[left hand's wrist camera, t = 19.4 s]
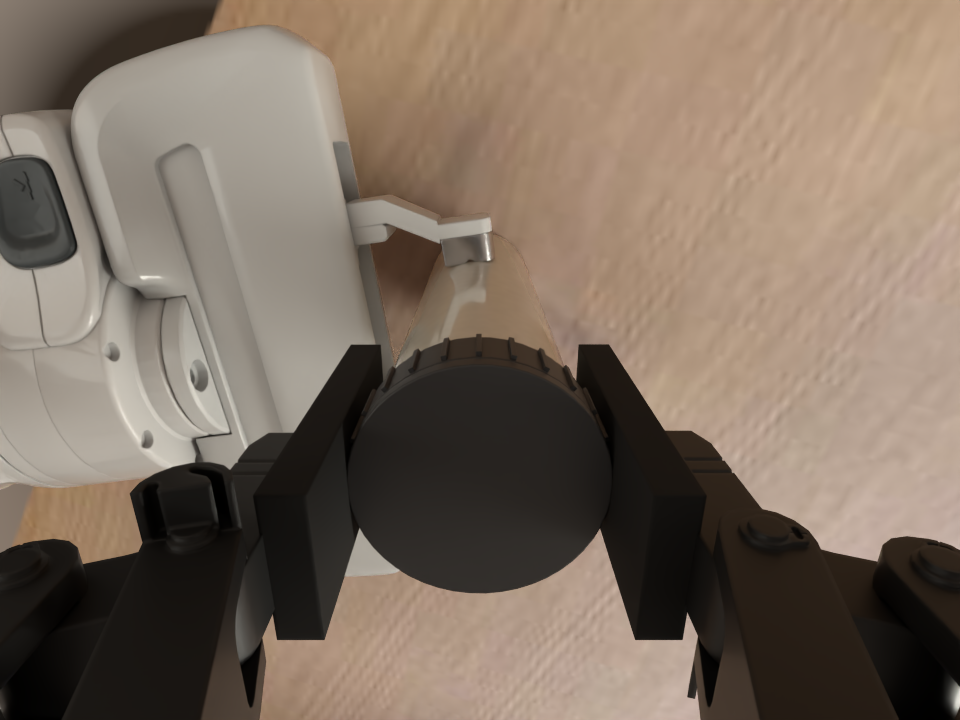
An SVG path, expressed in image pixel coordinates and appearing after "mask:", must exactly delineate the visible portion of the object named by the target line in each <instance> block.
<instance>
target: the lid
mask: <svg viewBox="0 0 960 720" xmlns="http://www.w3.org/2000/svg"><path fill="white" fill-rule="evenodd" d="M606 442H609V437H608V435H607V433H606V430H605V428H604V426H603V424H602V421H601V419H600V417H599V415H598V413H597V410H596V408H595V406H594V404H593V401H592V399H591V397H590V395H589V392H588V390H587V389H586V387H585V388H583V389H582V388H581V387H580V386H579V384H578V383H577V381H576V380H575V379H574V378H573V376H572V374H571V371H570V369H569V367H568V366H567V365H565V366H564V367H562V366H561V365H560V364H558V363H557V362H556V361H554V360H553V359H552V358H550V357H549V356H547V355H546V354H545V351H544V349H542V348H539V350H536V349H534V348H531V347H529V346H526V345H524V344H521V343H517V342H515V340H514V338H512V337H509V339H508V340H506V339H499V338H492V337H482V334H476V337H469V338H460V339H454V340H449V337H448V338H444V340H443V342H441V343H439V344H436V345H433V346H431V347H428V348H426V349H424V350H422V351H420V350H419V349H416V350H414V352H413V355H412V356H411V357H409V358H408V359H407V360H405V361H404V362H402V363H401V364H400V365H398V366H397V367H396V368H394V367H393V366H392V367H391V368H390V369H389V371H388V373H387V376H386V378H385V380H384V381H383V382H382V384H381V385H380V386H379V387H378V389H377V390H375V389H373V390H372V391H371V393H370V395H369V398H368V400H367V402H366V404H365V407H364V409H363V411H362V413H361V416H360V419H359V421H358V423H357V425H356V428H355V430H354V432H353V434H352V437H351V439H350V443H352V447H351V450H350V454H349V458H348V463H347V484H348V494H349V502H350V507H351V510H352V512H353V515H354V517H355V520H356V523H357V524H358V526H359V528H360V530H361V531H362V533H363V535H364V536H365V538H366V539H367V540H368V542H369V543H370V544H371V546H372V547H373V548H374V549H375V550H376V551H377V552H378V553H379V554H380V555H381V556H382V557H383V558H384V559H385V560H387V561H388V562H389V563H390V564H392V565H393V566H394V567H395V568H397V569H399V570H400V571H402V572H403V573H405V574H407V575H408V576H410V577H412V578H415V579H417V580H419V581H421V582H423V583H426V584H429V585H432V586H435V587H438V588H442V589H446V590H451V591H457V592H465V593H494V592H503V591H508V590H513V589H518V588H521V587H524V586H528V585H531V584H534V583H536V582H538V581H541V580H543V579H545V578H547V577H549V576H551V575H553V574H554V573H556V572H558V571H560V570H561V569H563V568H564V567H565V566H567V565H568V564H569V563H571V562H572V561H573V560H574V559H575V558H576V557H577V556H578V555H580V554H581V553H582V552H583V551H584V550H585V548H586V547H587V546H588V545H589V544H590V542H591V541H592V540H593V539H594V537H595V535H596V534H597V532H598V530H599V529H600V527H601V525H602V523H603V521H604V519H605V516H606V514H607V512H608V508H609V504H610V500H611V490H612V479H613V466H612V461H611V456H610V451H609V448H608V446H607V443H606Z"/></svg>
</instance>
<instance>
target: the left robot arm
mask: <svg viewBox="0 0 960 720" xmlns="http://www.w3.org/2000/svg"><path fill="white" fill-rule="evenodd" d="M576 381H577V383H578V384H579V386H580V387H581V388H582V389H583V388H585V387H586V389H587V390H588V392H589V395H590V397H591V399H592V401H593V404H594V406H595V408H596V410H597V413H598V415H599V417H600V419H601V421H602V424H603V426H604V428H605V430H606V433H607V435H608V437H609V442H606V443H607V446H608V448H609V451H610V456H611V461H612V466H613V479H612V490H611V500H610V504H609V508H608V512H607V514H606V516H605V519H604V521H603V523H602V525H601V527H600V529H601V533H602V536H603V539H604V542H605V545H606V548H607V552H608V555H609V558H610V561H611V564H612V568H613V571H614V574H615V577H616V580H617V583H618V587H619V590H620V593H621V596H622V599H623V603H624V606H625V609H626V612H627V615H628V618H629V622H630V625H631V628H632V631H633V634H634V638H635V640H683V634H684V628H685V622H686V616H687V612H688V614H689V617H690V619H691V621H692V623H693V626H694V628H695V630H696V632H697V635H698V639H697V645H696V650H695V656H694V661H693V667H692V672H691V678H690V683H689V690H688V697H689V698H694V699H695V696H696V691H697V692H698V700H699V709H700V718H701V720H960V550H958V549H956V548H955V547H953V546H951V545H948V544H945V543H942V542H938V541H935V540H931V539H925V538H916V537H908V536H906V537H898V538H891V539H890V540H889V541H887V542H886V543H885V544H883V546H882V549H881V552H880V556H879V559H878V562H876V561H871V560H866V559H861V558H856V557H852V556H847V555H842V554H837V553H832V552H829V551H825V550H821V549H820V547H819V544H818V542H817V541H816V540H815V538H814V537H813V536H812V534H811V533H810V532H809V531H808V530H807V529H806V528H804V527H803V526H801V525H800V524H799V523H797V522H796V521H794V520H792V519H790V518H788V517H785V516H783V515H781V514H779V513H776V512H772V511H768V510H764V509H762V508H761V507H760V506H759V505H758V503H757V502H756V501H755V499H754V498H753V497H752V496H751V494H750V493H749V492H748V490H747V489H746V488H745V487H744V485H743V484H742V483H741V481H740V480H739V479H738V478H737V476H736V475H735V474H734V473H732V470H731V469H730V467H729V466H728V465H727V463H726V462H725V461H722V457H721V456H720V454H719V453H718V452H717V451H716V449H715V448H714V447H713V445H712V444H711V443H710V442H708V441H706V440H705V439H703V438H702V437H700V436H698V435H697V434H695V433H694V432H692V431H665V430H664V429H663V427H662V426H661V424H660V423H659V421H658V420H657V418H656V417H655V415H654V413H653V412H652V410H651V409H650V407H649V406H648V404H647V403H646V401H645V400H644V398H643V396H642V395H641V393H640V392H639V390H638V389H637V387H636V386H635V384H634V383H633V381H632V380H631V378H630V376H629V375H628V373H627V372H626V370H625V369H624V367H623V366H622V364H621V363H620V361H619V360H618V358H617V356H616V355H615V353H614V352H613V350H612V349H611V347H610V346H609V345H579V348H578V363H577V379H576ZM382 382H383V369H382V354H381V345H350V347H349V348H348V350H347V351H346V353H345V354H344V356H343V357H342V359H341V360H340V362H339V364H338V365H337V367H336V368H335V370H334V371H333V373H332V374H331V376H330V377H329V379H328V381H327V382H326V384H325V385H324V387H323V388H322V390H321V391H320V393H319V394H318V396H317V397H316V399H315V401H314V402H313V404H312V405H311V407H310V408H309V410H308V411H307V413H306V414H305V416H304V417H303V419H302V421H301V422H300V424H299V425H298V427H297V428H296V430H295V431H294V433H267V434H266V435H264V436H263V437H261V438H260V439H258V440H256V441H255V442H253V443H252V444H250V445H249V446H248V447H247V449H246V450H245V451H244V452H243V454H242V455H241V456H240V458H239V459H238V463H235V464H234V465H233V467H232V468H231V469H228V468H227V467H226V466H224V465H221V464H217V463H212V462H195V463H188V464H183V465H178V466H173V467H171V468H168V469H165V470H163V471H160V472H158V473H155V474H153V475H152V476H150V477H148V478H147V479H145V480H143V481H142V482H140V483H139V484H138V485H137V486H136V487H135V488H134V489H133V491H132V492H131V493H130V496H131V500H132V504H133V508H134V512H135V515H136V519H137V523H138V527H139V531H140V535H141V538H142V542H143V543H142V545H141V548H140V550H139V552H137V553H133V554H129V555H125V556H121V557H116V558H111V559H106V560H101V561H96V562H91V563H86V564H82V560H81V557H80V554H79V551H78V548H77V547H76V546H75V545H73V544H72V543H71V542H70V541H65V540H58V539H49V540H41V541H32V542H28V543H24V544H23V545H17V546H14V547H11V548H9V549H7V550H5V551H4V552H1V553H0V720H260V711H261V702H262V693H263V684H264V675H265V667H266V657H265V651H264V645H263V639H262V637H263V635H264V632H265V630H266V628H267V625H268V623H269V621H270V619H271V616H272V614H273V618H274V624H275V630H276V636H277V640H325V636H326V633H327V630H328V627H329V624H330V621H331V617H332V614H333V611H334V608H335V605H336V601H337V598H338V595H339V592H340V589H341V586H342V582H343V579H344V576H345V573H346V570H347V566H348V563H349V560H350V557H351V554H352V551H353V547H354V544H355V541H356V538H357V535H358V531H359V526H358V524H357V523H356V520H355V517H354V515H353V512H352V510H351V507H350V502H349V494H348V484H347V463H348V458H349V454H350V450H351V447H352V443H350V439H351V437H352V434H353V432H354V430H355V428H356V425H357V423H358V421H359V419H360V416H361V413H362V411H363V409H364V407H365V404H366V402H367V400H368V398H369V395H370V393H371V391H372V390H373V389H375V390H377V389H378V387H379V386H380V385H381V384H382Z"/></svg>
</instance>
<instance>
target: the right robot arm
mask: <svg viewBox="0 0 960 720" xmlns="http://www.w3.org/2000/svg"><path fill="white" fill-rule="evenodd" d="M396 227H397V228H400V229H403V230H405V231H408V232H410V233H413V234H416V235H418V236H421V237H423V238H426V239H428V240H431V241H434V242H436V243H439V244H440V243H441V246H442V251H443V257H444V262H445V267H448V266H456V265H462V264H465V263H466V262H467V261H468V260H469V259H471V260H473V261H475V262H485V261H489V260H492V259H495V250H494V242H493V233H492V226H491V219H490V213H477V214H470V215H463V216H456V217H449V218H442V219H441V216H440V215H439V214H437V213H434V212H432V211H429V210H427V209H425V208H422V207H420V206H417V205H415V204H413V203H410V202H408V201H406V200H403V199H401V198H398V197H396V196H394V195H391V194H389V195H382V196H375V197H368V198H361V196H360V191H359V186H358V181H357V177H356V172H355V167H354V162H353V157H352V152H351V147H350V143H349V138H348V133H347V128H346V123H345V118H344V113H343V108H342V104H341V99H340V94H339V89H338V84H337V79H336V74H335V70H334V66H333V64H332V62H331V60H330V59H329V58H328V56H327V55H325V54H324V53H323V52H322V51H320V50H319V49H318V48H317V47H315V46H314V45H313V44H312V43H310V42H309V41H308V40H306V39H305V38H303V37H302V36H300V35H298V34H297V33H295V32H293V31H291V30H289V29H286V28H283V27H280V26H274V25H257V26H250V27H244V28H238V29H233V30H229V31H224V32H220V33H215V34H211V35H207V36H203V37H199V38H195V39H191V40H187V41H184V42H181V43H177V44H174V45H170V46H167V47H164V48H161V49H158V50H155V51H152V52H149V53H146V54H143V55H140V56H138V57H135V58H132V59H129V60H127V61H124V62H122V63H120V64H117V65H115V66H113V67H111V68H109V69H107V70H105V71H104V72H102V73H100V74H99V75H98V76H96V77H95V78H94V79H92V80H91V81H90V82H89V83H88V84H87V85H86V87H85V88H84V89H83V90H82V92H81V93H80V94H79V96H78V98H77V100H76V103H75V105H74V108H73V110H38V111H30V112H20V113H13V114H6V115H1V116H0V490H1V489H4V488H7V487H9V486H11V485H13V484H16V483H18V484H24V485H30V486H37V487H45V488H66V487H77V486H84V485H92V484H100V483H108V482H116V481H124V480H133V479H143V478H148V477H150V476H152V475H153V474H155V473H158V472H160V471H163V470H165V469H168V468H171V467H173V466H178V465H183V464H188V463H195V462H212V463H217V464H221V465H224V466H226V467H227V468H228V469H231V468H232V467H233V465H234V464H235V463H238V459H239V458H240V456H241V455H242V454H243V452H244V451H245V450H246V449H247V447H248V446H249V445H250V444H252V443H253V442H255V441H256V440H258V439H260V438H261V437H263V436H264V435H266V434H267V433H294V431H295V430H296V428H297V427H298V425H299V424H300V422H301V421H302V419H303V417H304V416H305V414H306V413H307V411H308V410H309V408H310V407H311V405H312V404H313V402H314V401H315V399H316V397H317V396H318V394H319V393H320V391H321V390H322V388H323V387H324V385H325V384H326V382H327V381H328V379H329V377H330V376H331V374H332V373H333V371H334V370H335V368H336V367H337V365H338V364H339V362H340V360H341V359H342V357H343V356H344V354H345V353H346V351H347V350H348V348H349V347H350V345H381V354H382V369H383V381H384V380H385V378H386V376H387V373H388V371H389V369H390V368H391V367H392V366H393V367H394V368H395V362H394V357H393V352H392V347H391V342H390V337H389V332H388V327H387V323H386V318H385V313H384V308H383V303H382V298H381V293H380V289H379V284H378V279H377V274H376V269H375V264H374V259H373V254H372V250H371V245H370V244H372V243H379V242H385V241H386V240H387V239H388V238H389V237H390V236H391V235H392V234H393V233H394V232H395V231H396ZM399 571H400V570H399V569H397V568H395V567H394V566H393V565H392V564H390V563H389V562H388V561H387V560H385V559H384V558H383V557H382V556H381V555H380V554H379V553H378V552H377V551H376V550H375V549H374V548H373V547H372V546H371V544H370V543H369V542H368V540H367V539H366V538H365V536H364V535H363V533H362V531H361V530H360V528H359V531H358V535H357V538H356V541H355V544H354V547H353V551H352V554H351V557H350V560H349V563H348V566H347V570H346V573H345V576H344V577H355V576H377V575H388V574H393V573H397V572H399Z"/></svg>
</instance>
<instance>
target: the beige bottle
mask: <svg viewBox="0 0 960 720" xmlns="http://www.w3.org/2000/svg"><path fill="white" fill-rule="evenodd" d="M493 242H494V250H495V259H492V260H489V261H485V262H475V261H473V260H471V259H469V260H468V261H467V262H466V263H465V264H462V265H456V266H448V267H445V262H444V257H443V251H441V252H440V254H439V255H438V257H437V259H436V261H435V264H434V266H433V269H432V272H431V274H430V277H429V279H428V282H427V285H426V287H425V290H424V292H423V295H422V298H421V300H420V303H419V305H418V308H417V311H416V313H415V316H414V318H413V321H412V323H411V326H410V329H409V331H408V334H407V336H406V339H405V342H404V344H403V347H402V349H401V352H400V355H399V357H398V360H397V362H396V365H395V368H396V367H397V366H398V365H400V364H401V363H402V362H404V361H405V360H407V359H408V358H409V357H411V356H412V355H413V352H414V350H416V349H419V350H420V351H422V350H424V349H426V348H428V347H431V346H433V345H436V344H439V343H441V342H443V340H444V338H448V337H449V340H454V339H460V338H469V337H476V334H482V337H492V338H499V339H506V340H508V339H509V337H512V338H514V340H515V342H517V343H521V344H524V345H526V346H529V347H531V348H534V349H536V350H539V348H542V349H544V351H545V354H546V355H547V356H549V357H550V358H552V359H553V360H554V361H556V362H557V363H558V364H560V365H561V366H562V367H564V364H563V361H562V358H561V356H560V353H559V351H558V348H557V345H556V343H555V340H554V338H553V335H552V332H551V330H550V327H549V325H548V322H547V320H546V317H545V314H544V312H543V309H542V307H541V304H540V301H539V299H538V296H537V294H536V291H535V288H534V286H533V283H532V281H531V278H530V275H529V273H528V270H527V268H526V265H525V263H524V260H523V258H522V256H521V255H520V253H519V252H518V250H517V249H516V248H515V247H514V246H513V245H512V244H511V243H510V242H508V241H507V240H506V239H504V238H502V237H500V236H498V235H495V234H493Z"/></svg>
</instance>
